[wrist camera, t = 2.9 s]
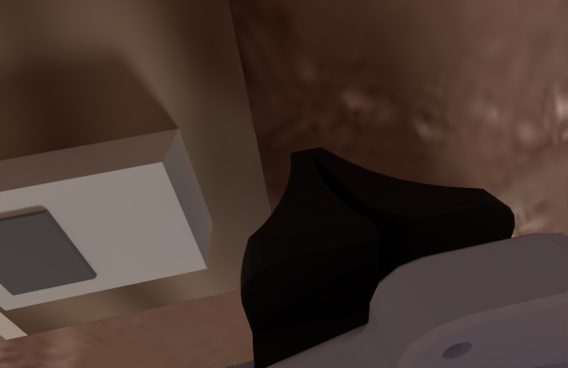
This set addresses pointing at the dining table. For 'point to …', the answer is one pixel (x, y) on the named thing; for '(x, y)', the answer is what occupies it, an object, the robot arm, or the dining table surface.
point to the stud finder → (99, 218)
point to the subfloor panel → (135, 123)
